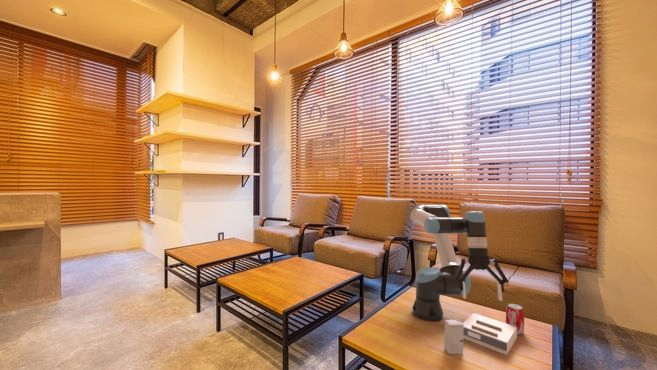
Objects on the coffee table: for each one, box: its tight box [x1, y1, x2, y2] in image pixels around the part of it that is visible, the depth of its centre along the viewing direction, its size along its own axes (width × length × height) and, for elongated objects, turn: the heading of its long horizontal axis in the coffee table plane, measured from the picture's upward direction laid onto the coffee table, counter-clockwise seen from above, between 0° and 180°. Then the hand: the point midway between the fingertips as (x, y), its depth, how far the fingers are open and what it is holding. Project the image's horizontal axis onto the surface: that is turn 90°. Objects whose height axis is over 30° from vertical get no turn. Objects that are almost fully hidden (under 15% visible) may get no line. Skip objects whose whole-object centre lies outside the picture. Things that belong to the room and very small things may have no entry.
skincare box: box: [443, 319, 464, 355], centre depth 114 cm, size 6×4×12 cm
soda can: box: [505, 302, 525, 336], centre depth 128 cm, size 7×7×12 cm
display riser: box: [462, 312, 518, 356], centre depth 123 cm, size 18×18×6 cm
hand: (482, 299), depth 116 cm, fingers open, 13 cm apart
